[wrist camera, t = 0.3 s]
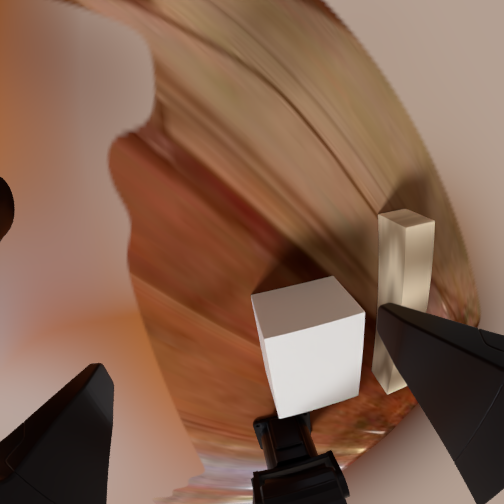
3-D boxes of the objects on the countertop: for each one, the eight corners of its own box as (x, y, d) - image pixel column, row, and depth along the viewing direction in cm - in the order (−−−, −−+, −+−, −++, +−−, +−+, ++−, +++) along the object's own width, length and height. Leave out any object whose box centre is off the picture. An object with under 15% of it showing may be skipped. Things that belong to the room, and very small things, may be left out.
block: (334, 354, 27) (358, 395, 22) (266, 372, 27) (279, 419, 21) (332, 275, 24) (365, 311, 18) (250, 294, 24) (263, 339, 18)
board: (393, 362, 29) (410, 384, 26) (371, 371, 29) (387, 394, 25) (405, 208, 23) (434, 220, 19) (377, 214, 23) (405, 227, 19)
